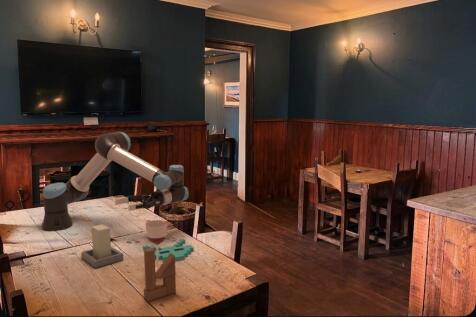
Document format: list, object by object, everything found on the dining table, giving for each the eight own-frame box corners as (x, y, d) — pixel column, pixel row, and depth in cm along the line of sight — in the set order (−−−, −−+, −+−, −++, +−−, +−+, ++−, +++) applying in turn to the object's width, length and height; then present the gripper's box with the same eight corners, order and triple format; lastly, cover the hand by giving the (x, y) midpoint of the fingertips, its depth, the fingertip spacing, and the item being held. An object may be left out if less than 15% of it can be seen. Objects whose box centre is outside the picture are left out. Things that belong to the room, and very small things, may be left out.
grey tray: (81, 258, 169) (81, 252, 169) (108, 251, 178) (108, 244, 177) (95, 268, 159) (95, 261, 158) (123, 260, 167) (123, 253, 167)
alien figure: (143, 250, 180) (154, 266, 162) (143, 245, 179) (154, 261, 162) (184, 243, 189) (199, 257, 171) (183, 238, 189) (199, 252, 171)
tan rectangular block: (93, 257, 169) (91, 226, 167) (104, 254, 173) (102, 224, 170) (100, 262, 164) (98, 230, 162) (111, 258, 167) (109, 227, 165)
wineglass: (159, 277, 151) (157, 227, 148) (143, 271, 156) (141, 224, 153) (172, 269, 158) (171, 222, 155) (157, 264, 162) (155, 219, 160)
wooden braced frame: (176, 293, 139) (174, 245, 136) (148, 302, 132) (146, 252, 130) (171, 289, 141) (170, 242, 139) (143, 297, 135) (141, 249, 133)
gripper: (174, 210, 189) (135, 218, 174) (148, 200, 207) (110, 207, 193) (174, 195, 188) (134, 202, 173) (148, 186, 206) (110, 192, 191)
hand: (121, 204), depth 183 cm, fingers open, 13 cm apart
